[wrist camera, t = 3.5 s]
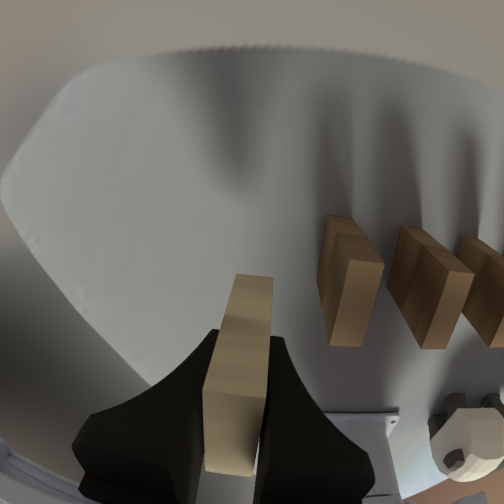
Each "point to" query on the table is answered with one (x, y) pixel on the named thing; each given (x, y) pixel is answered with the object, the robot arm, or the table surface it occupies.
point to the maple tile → (238, 378)
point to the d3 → (484, 290)
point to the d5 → (347, 281)
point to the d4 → (428, 287)
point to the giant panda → (468, 438)
